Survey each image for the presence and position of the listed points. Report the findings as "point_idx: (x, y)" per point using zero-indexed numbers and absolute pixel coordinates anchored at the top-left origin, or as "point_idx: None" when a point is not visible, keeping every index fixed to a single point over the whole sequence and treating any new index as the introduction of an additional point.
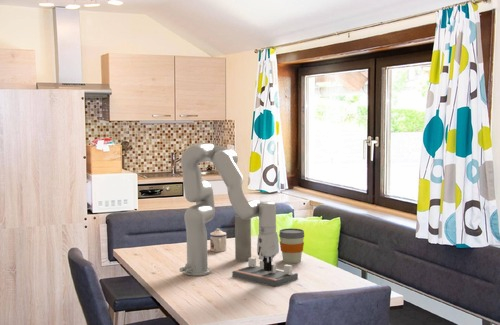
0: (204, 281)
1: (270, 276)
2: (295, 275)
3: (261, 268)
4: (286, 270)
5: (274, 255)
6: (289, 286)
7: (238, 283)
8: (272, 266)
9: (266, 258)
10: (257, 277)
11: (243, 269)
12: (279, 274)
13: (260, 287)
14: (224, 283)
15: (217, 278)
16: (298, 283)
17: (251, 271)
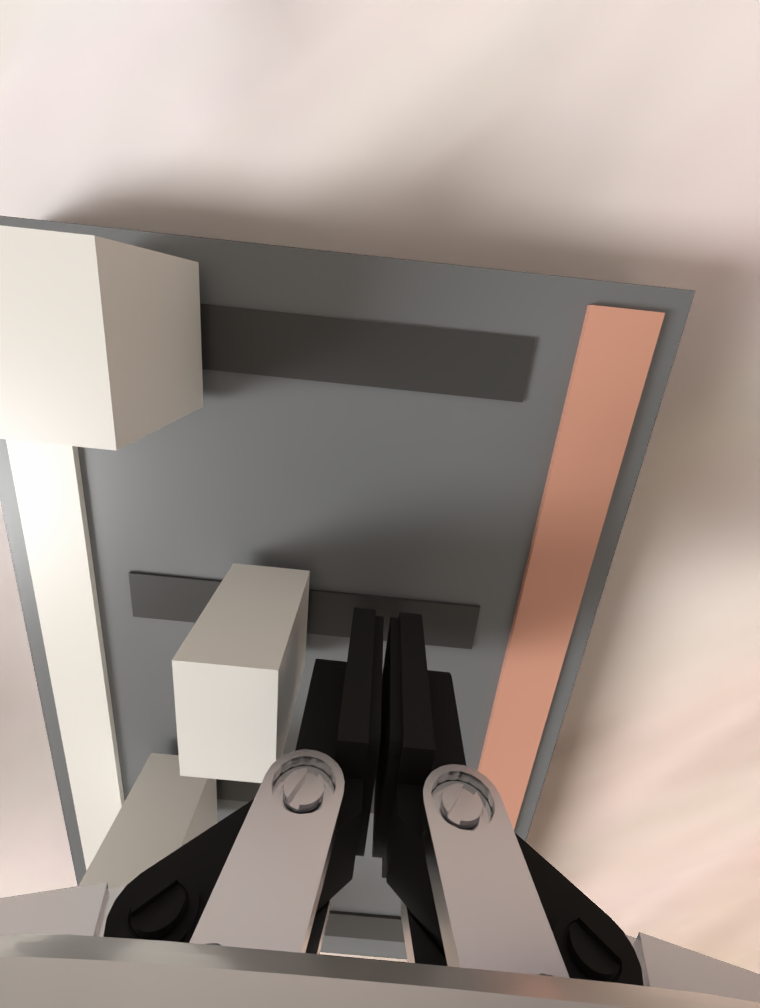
0: None
1: (449, 531)
2: (43, 222)
3: (214, 810)
4: (168, 347)
5: (44, 924)
6: (506, 71)
7: (677, 755)
8: (286, 661)
9: (544, 934)
10: (575, 661)
11: (357, 927)
12: (255, 474)
13: (751, 469)
14: (732, 847)
15: None
16: (240, 27)
17: (369, 838)
